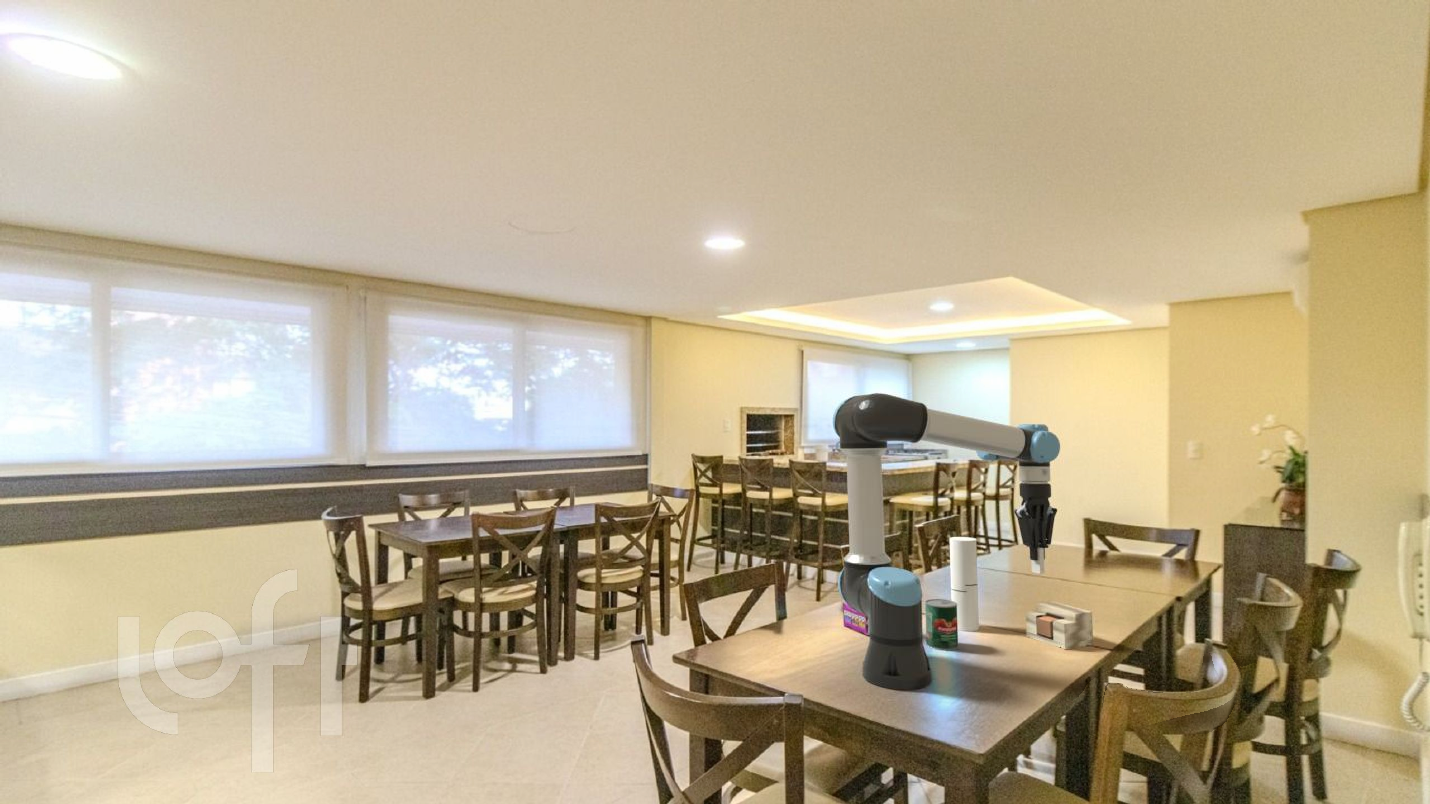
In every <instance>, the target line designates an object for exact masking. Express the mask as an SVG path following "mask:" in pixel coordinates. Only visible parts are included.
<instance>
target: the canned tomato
mask: <svg viewBox="0 0 1430 804" xmlns="http://www.w3.org/2000/svg"><path fill="white" fill-rule="evenodd" d="M924 603H925V641H926V643H925V645H926V646H927V647H928V646H929V647H928V648H930V647H932V648H931V649H933V648H935V649H934V650H937V649H938V650H939V651H954V650H957V649H958V648H959V636H958V634H959V633H958V632H959V630H958V628H957V627H958V626H957V624H958V623H957V603H956V602H954V601H951V599H944V598H931V599H927V600H925V601H924Z"/></svg>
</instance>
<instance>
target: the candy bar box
mask: <svg viewBox="0 0 1430 804" xmlns="http://www.w3.org/2000/svg"><path fill="white" fill-rule="evenodd" d="M842 600H843V599H842ZM842 604H843V605H842V606H843V607H842V608H843V610H842V612H843V617H842V618H843V626H844V627H846V628H848V629H850V630H852V629H853V630H852V631H855V632H858V633H860V634H862V635H864V636H870V631H869V618H868V617H866V616H865V615H863V614H861V613H860V612H857V611H855V610H853V609H852V608H851V607H850V606H848V604H847V603H846V602H845V601H844V600H843V601H842Z"/></svg>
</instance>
